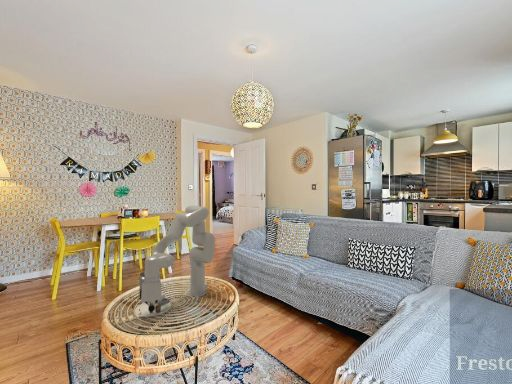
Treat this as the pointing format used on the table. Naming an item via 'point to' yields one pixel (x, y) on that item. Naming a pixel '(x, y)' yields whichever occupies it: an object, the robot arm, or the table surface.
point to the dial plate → (144, 308)
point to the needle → (157, 307)
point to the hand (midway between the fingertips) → (151, 311)
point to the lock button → (162, 297)
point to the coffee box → (141, 282)
